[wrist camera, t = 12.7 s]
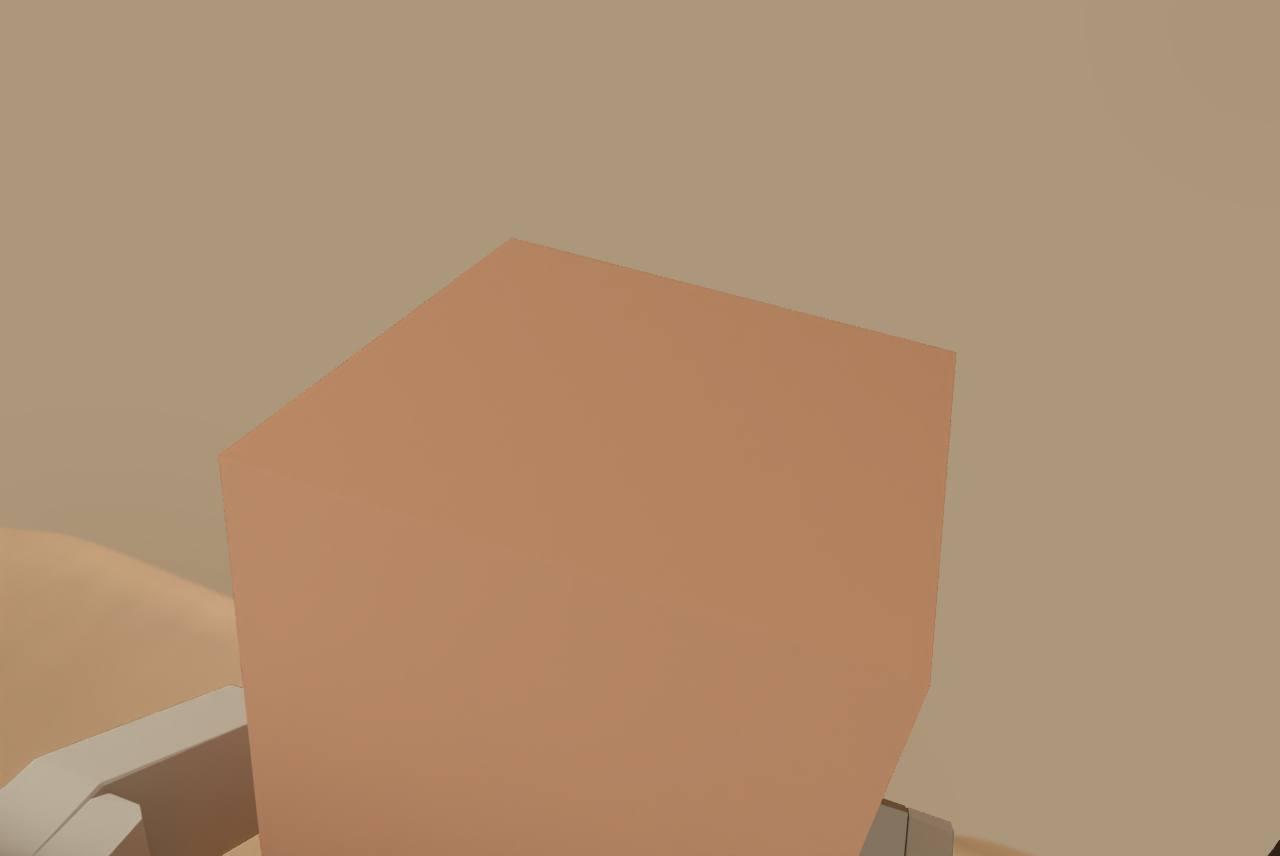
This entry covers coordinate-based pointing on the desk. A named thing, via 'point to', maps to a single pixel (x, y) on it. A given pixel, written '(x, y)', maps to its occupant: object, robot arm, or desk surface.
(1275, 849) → the coffee box
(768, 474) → the block
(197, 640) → the desk surface
